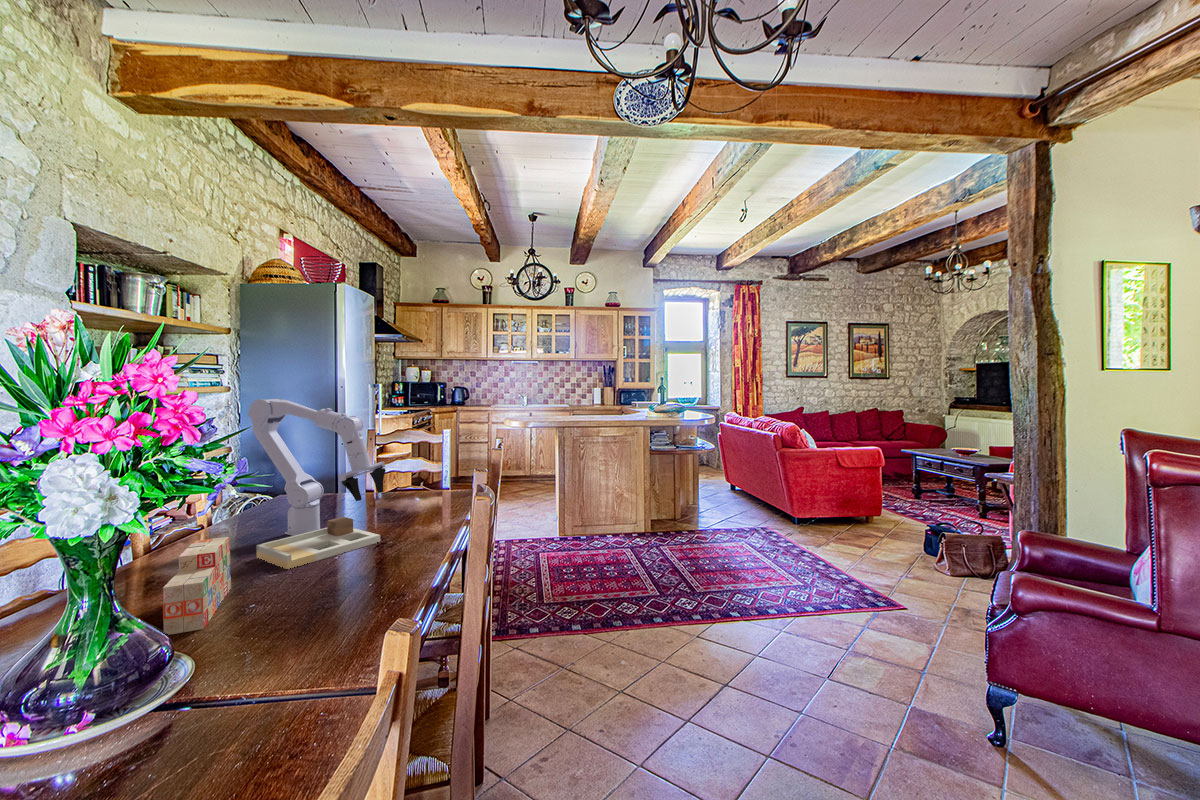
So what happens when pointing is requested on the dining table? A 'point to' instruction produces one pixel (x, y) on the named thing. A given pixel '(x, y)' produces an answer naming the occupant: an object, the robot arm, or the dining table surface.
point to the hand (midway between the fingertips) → (370, 496)
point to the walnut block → (340, 526)
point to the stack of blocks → (197, 586)
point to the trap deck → (312, 547)
